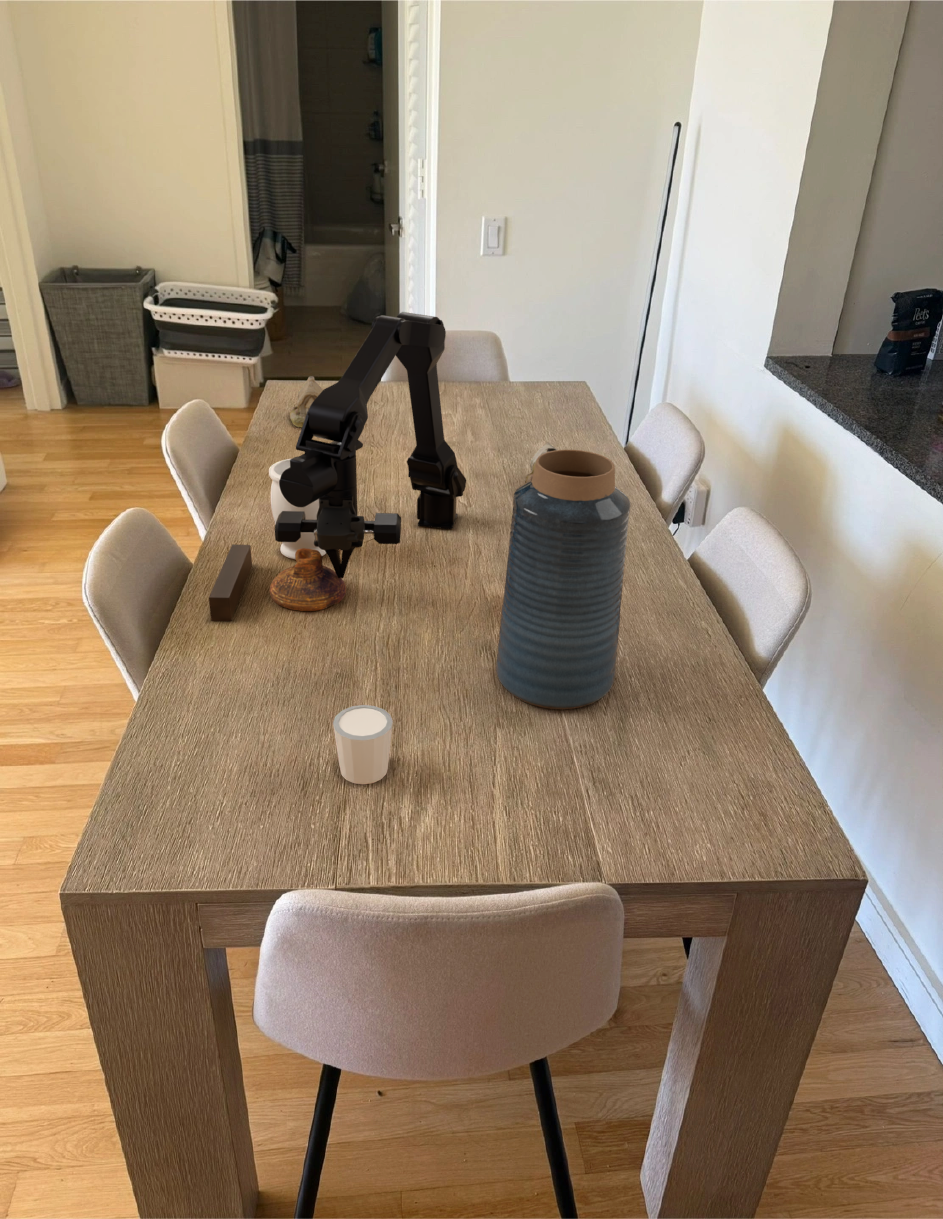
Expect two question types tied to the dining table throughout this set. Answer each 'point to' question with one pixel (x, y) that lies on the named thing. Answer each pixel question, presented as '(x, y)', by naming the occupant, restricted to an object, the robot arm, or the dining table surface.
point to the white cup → (363, 743)
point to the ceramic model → (304, 401)
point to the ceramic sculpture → (542, 450)
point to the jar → (283, 505)
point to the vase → (564, 582)
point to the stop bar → (230, 583)
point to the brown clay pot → (307, 584)
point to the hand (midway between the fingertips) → (341, 577)
